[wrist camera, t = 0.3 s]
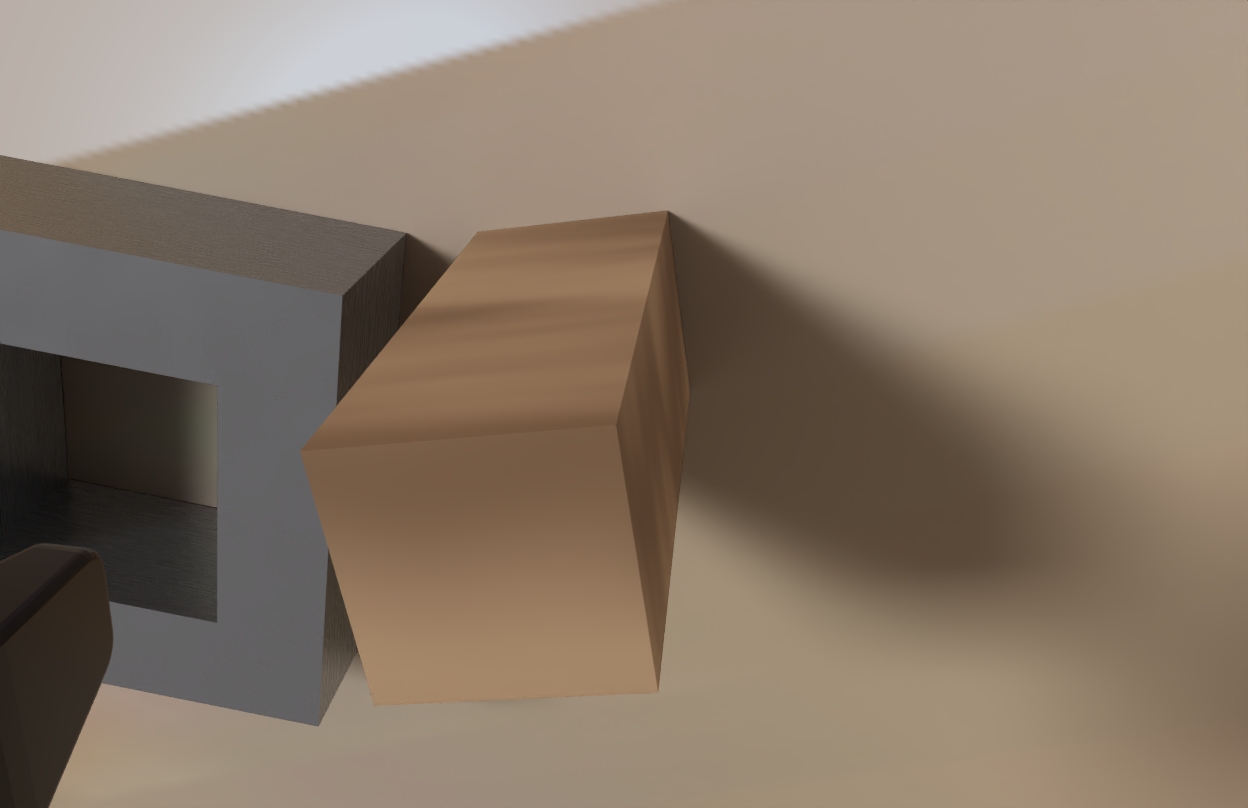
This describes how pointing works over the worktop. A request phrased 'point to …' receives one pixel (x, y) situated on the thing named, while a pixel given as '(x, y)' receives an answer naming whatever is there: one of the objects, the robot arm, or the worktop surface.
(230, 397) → the well block
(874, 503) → the worktop surface
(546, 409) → the brown tall square block
